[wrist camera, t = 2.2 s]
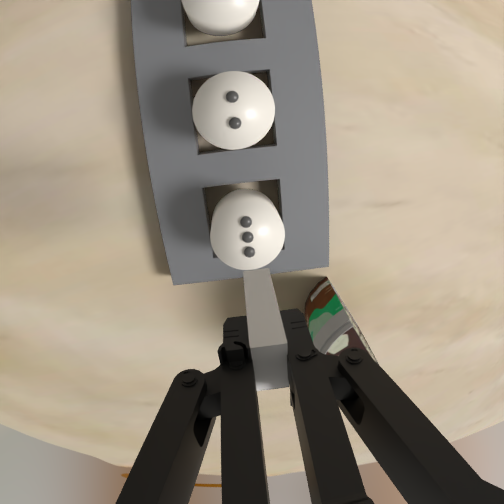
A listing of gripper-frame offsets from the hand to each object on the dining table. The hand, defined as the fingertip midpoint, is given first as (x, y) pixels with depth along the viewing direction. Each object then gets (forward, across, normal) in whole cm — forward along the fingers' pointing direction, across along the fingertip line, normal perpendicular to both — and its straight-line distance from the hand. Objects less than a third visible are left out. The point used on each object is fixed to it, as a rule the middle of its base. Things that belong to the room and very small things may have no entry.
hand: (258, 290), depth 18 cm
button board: (+14, 0, +10) cm, 17 cm away
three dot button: (+12, 0, 0) cm, 12 cm away
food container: (+14, +8, -14) cm, 21 cm away
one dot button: (+11, 0, +20) cm, 23 cm away
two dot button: (+12, 0, +10) cm, 15 cm away
